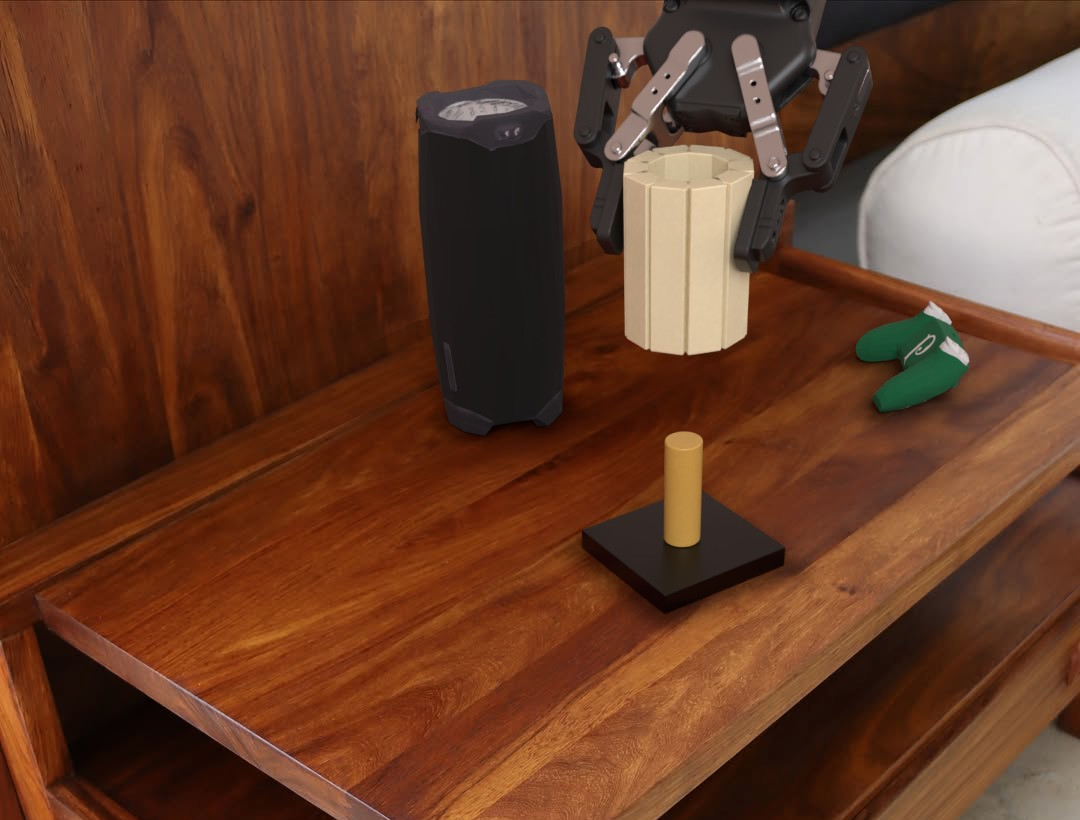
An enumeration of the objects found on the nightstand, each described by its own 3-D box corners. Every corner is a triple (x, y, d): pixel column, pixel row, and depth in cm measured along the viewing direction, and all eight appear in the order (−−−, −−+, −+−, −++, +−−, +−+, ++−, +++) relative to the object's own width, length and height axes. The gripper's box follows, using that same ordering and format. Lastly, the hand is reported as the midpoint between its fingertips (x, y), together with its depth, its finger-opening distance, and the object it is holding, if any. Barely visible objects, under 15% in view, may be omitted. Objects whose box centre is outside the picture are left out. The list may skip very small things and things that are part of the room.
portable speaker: (536, 368, 100) (522, 66, 87) (592, 426, 93) (586, 107, 81) (418, 395, 97) (387, 87, 85) (467, 455, 91) (441, 131, 78)
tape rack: (696, 504, 85) (699, 391, 80) (784, 565, 79) (792, 447, 75) (581, 547, 82) (578, 432, 77) (664, 614, 76) (665, 494, 72)
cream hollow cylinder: (697, 293, 76) (700, 136, 71) (772, 334, 72) (781, 169, 67) (601, 323, 74) (597, 162, 68) (672, 366, 69) (674, 198, 64)
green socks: (907, 442, 93) (985, 379, 90) (870, 404, 91) (947, 339, 89) (884, 378, 100) (955, 318, 97) (848, 342, 99) (919, 280, 96)
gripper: (603, -134, 68) (510, 204, 68) (908, -125, 63) (811, 240, 63) (644, -35, 75) (560, 272, 75) (921, -20, 70) (835, 309, 70)
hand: (675, 255), depth 69 cm, fingers closed on cream hollow cylinder, 6 cm apart
